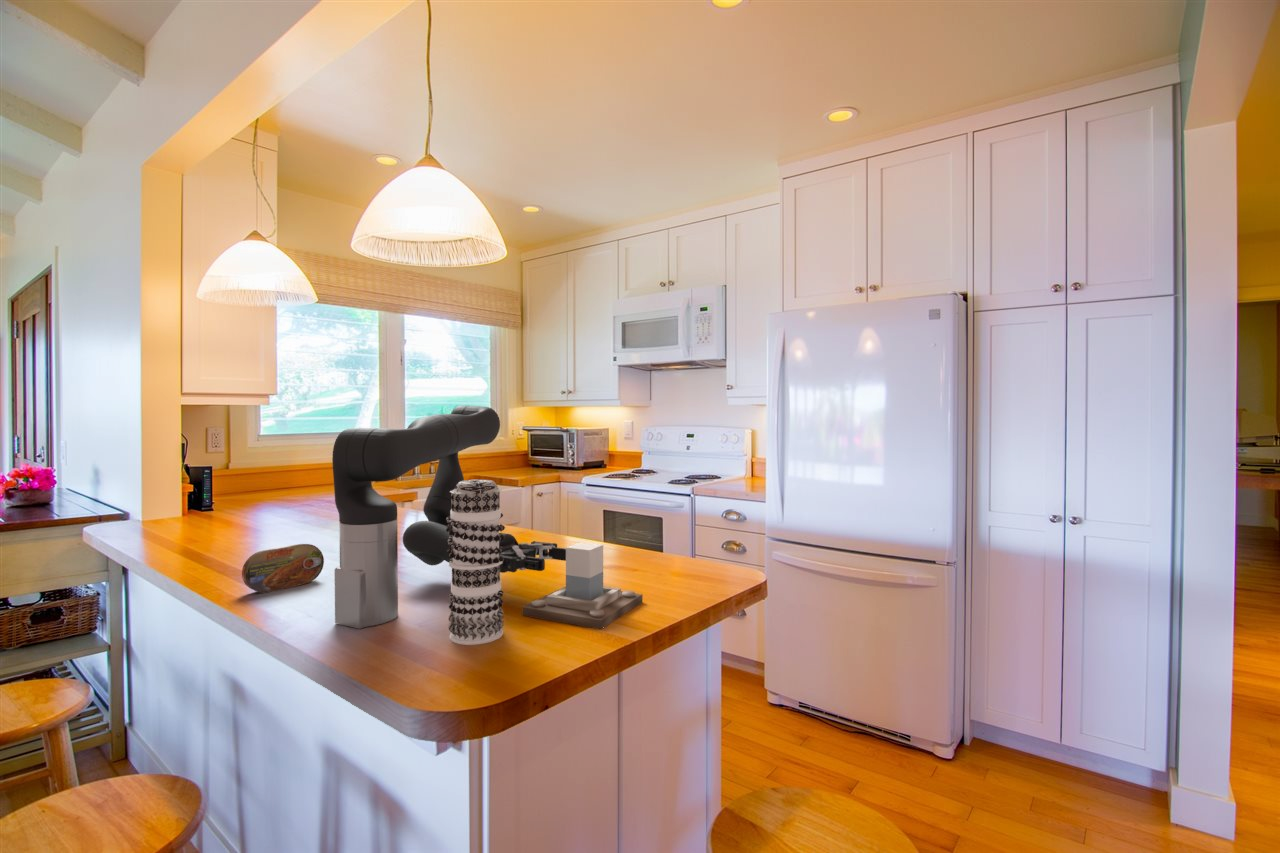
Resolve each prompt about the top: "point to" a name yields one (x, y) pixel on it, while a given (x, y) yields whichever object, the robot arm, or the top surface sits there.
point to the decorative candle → (475, 563)
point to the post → (584, 571)
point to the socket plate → (584, 607)
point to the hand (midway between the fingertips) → (557, 559)
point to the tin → (282, 567)
